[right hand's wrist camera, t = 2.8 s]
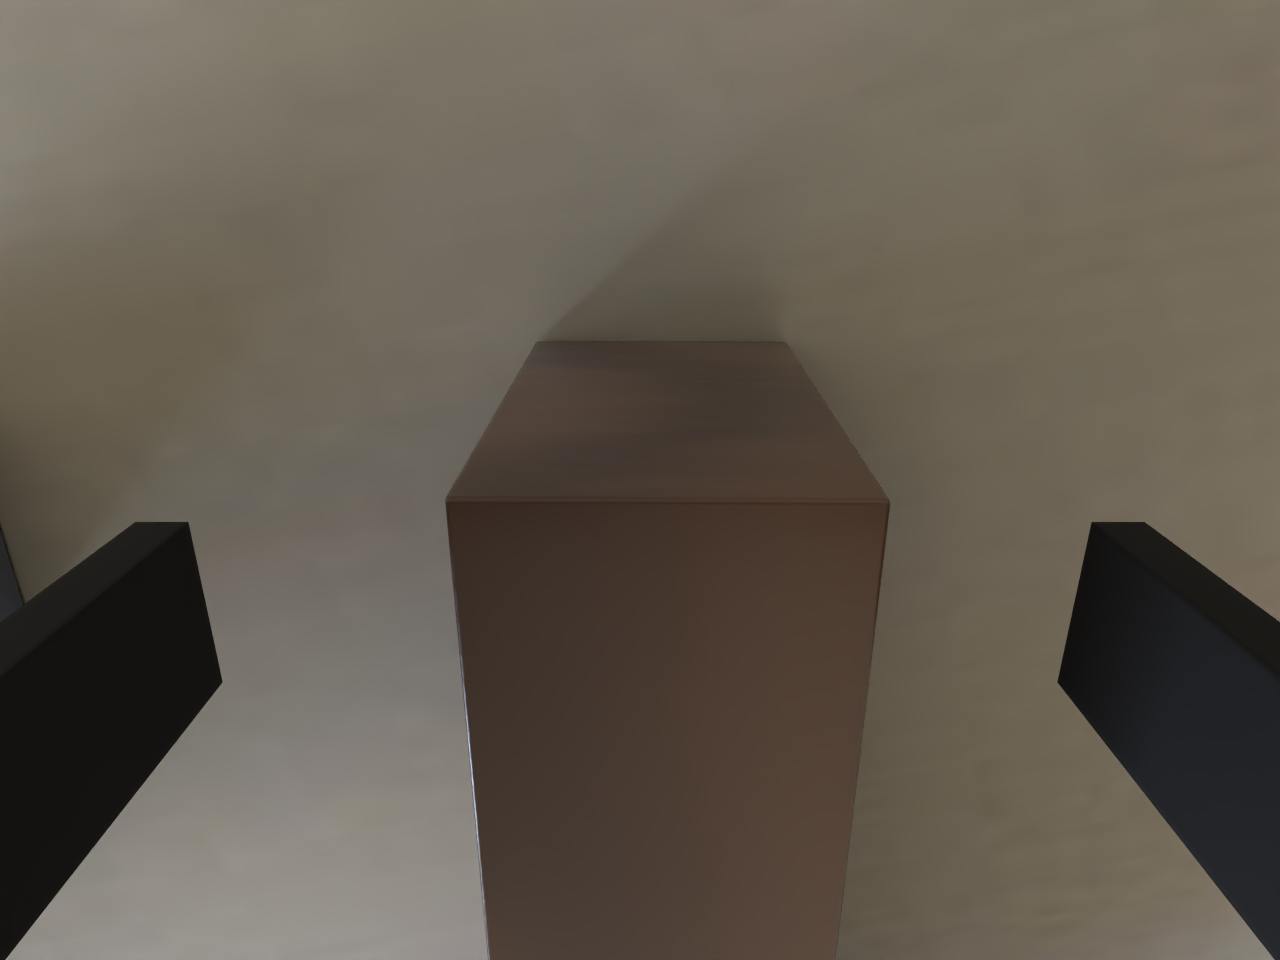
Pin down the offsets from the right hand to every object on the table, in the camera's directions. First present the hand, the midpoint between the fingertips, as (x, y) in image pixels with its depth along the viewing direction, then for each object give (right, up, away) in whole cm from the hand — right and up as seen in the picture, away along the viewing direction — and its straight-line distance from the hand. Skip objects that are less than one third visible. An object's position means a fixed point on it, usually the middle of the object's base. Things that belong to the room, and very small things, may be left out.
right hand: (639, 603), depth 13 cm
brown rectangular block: (0, -7, +9) cm, 11 cm away
